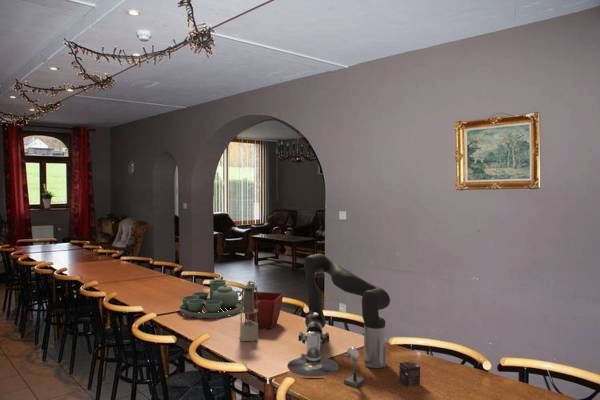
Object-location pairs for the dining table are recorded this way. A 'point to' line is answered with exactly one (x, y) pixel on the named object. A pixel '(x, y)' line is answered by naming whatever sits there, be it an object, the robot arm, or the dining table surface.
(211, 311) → the tea set
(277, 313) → the plant pot
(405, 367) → the box
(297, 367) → the turntable
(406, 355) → the dining table surface
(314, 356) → the cover
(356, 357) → the stand
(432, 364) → the dining table surface
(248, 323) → the lamp
